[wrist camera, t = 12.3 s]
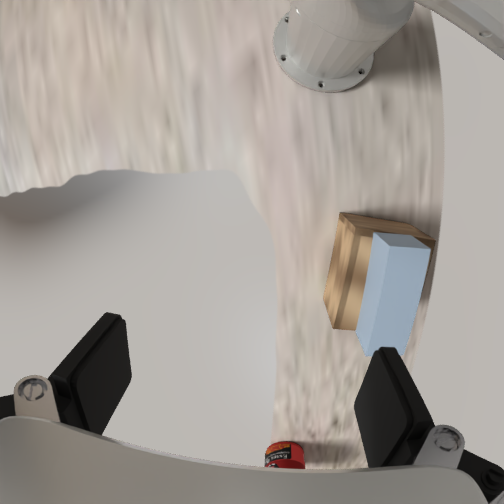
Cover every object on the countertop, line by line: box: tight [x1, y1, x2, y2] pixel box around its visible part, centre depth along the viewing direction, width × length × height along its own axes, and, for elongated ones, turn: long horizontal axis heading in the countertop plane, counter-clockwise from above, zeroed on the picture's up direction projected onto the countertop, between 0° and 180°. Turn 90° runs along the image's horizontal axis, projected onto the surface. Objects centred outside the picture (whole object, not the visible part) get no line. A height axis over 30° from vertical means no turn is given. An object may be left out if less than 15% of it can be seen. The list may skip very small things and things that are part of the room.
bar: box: [356, 232, 431, 356], centre depth 31 cm, size 12×4×5 cm, turn 178°
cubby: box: [323, 213, 436, 330], centre depth 37 cm, size 12×10×8 cm
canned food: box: [265, 442, 305, 469], centre depth 49 cm, size 8×8×11 cm
